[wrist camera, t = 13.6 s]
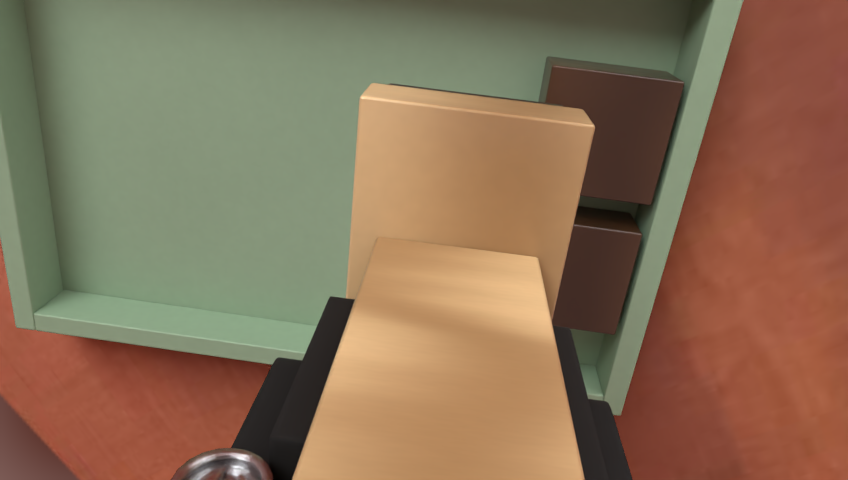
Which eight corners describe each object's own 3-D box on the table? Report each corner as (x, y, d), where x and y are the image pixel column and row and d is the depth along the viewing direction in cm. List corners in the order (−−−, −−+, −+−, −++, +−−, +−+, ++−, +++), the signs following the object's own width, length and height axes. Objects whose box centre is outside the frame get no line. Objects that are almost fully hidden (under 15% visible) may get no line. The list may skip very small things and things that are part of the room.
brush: (349, 450, 17) (232, 904, 9) (379, 71, 13) (217, 265, 5) (497, 471, 17) (519, 948, 9) (574, 95, 13) (747, 335, 5)
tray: (54, 297, 27) (15, 328, 25) (-5, -119, 21) (-65, -128, 19) (609, 377, 26) (620, 416, 24) (722, -31, 20) (752, -30, 18)
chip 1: (525, 170, 23) (528, 189, 21) (546, 55, 21) (552, 64, 19) (637, 186, 23) (651, 206, 21) (668, 71, 21) (685, 81, 19)
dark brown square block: (502, 293, 25) (503, 320, 23) (520, 197, 23) (523, 217, 21) (605, 308, 25) (615, 336, 23) (631, 212, 23) (643, 233, 21)
